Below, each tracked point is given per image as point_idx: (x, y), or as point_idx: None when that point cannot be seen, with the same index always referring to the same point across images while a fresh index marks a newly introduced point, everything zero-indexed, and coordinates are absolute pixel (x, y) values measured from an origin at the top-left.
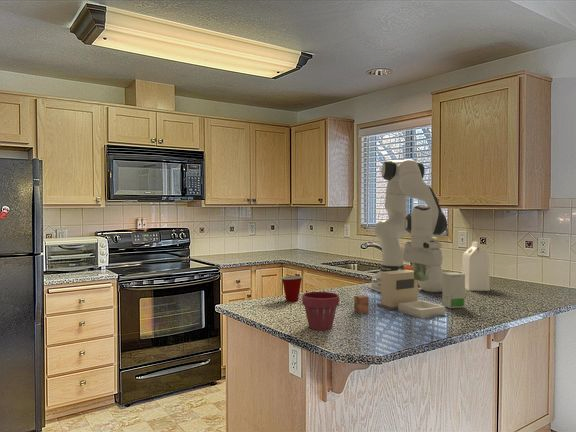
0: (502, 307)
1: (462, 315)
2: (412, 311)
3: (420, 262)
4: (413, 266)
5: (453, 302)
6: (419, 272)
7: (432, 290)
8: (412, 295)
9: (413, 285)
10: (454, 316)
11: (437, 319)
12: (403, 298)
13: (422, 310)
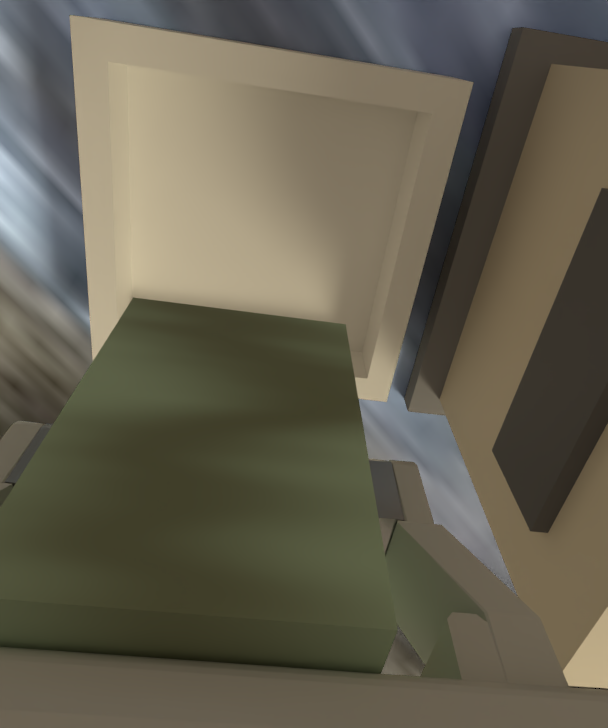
0: None
1: (32, 405)
2: (226, 40)
3: (24, 722)
4: (466, 586)
5: None
6: (146, 402)
7: None
8: (480, 392)
9: (502, 463)
10: (31, 339)
11: (2, 134)
12: (515, 269)
13: (74, 42)
